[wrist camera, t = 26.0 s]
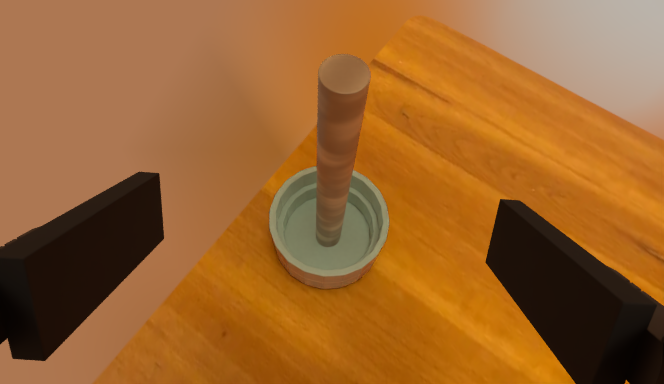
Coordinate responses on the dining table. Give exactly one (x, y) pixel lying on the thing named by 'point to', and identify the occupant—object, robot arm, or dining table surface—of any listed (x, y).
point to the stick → (337, 139)
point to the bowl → (300, 231)
